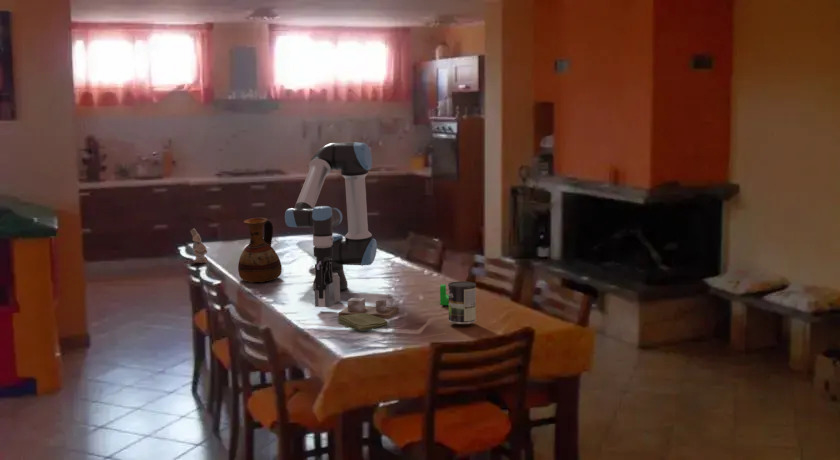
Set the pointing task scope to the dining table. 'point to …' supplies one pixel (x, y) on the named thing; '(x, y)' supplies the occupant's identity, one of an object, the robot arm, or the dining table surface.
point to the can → (336, 287)
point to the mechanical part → (443, 295)
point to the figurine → (198, 247)
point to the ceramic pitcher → (259, 253)
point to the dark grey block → (326, 294)
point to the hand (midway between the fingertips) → (325, 304)
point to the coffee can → (462, 302)
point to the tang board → (369, 308)
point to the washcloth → (362, 321)
